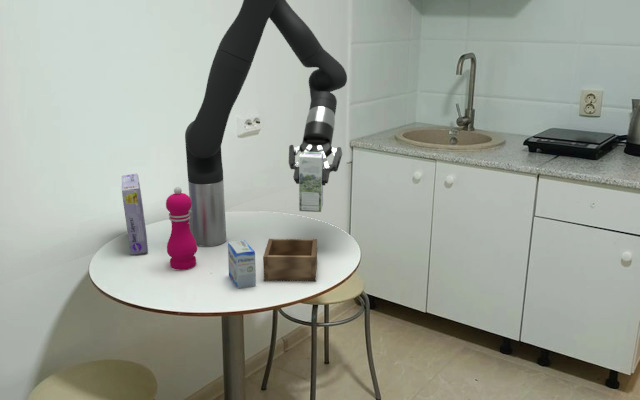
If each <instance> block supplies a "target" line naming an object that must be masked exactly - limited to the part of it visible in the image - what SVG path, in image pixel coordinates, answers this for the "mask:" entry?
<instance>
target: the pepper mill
mask: <svg viewBox="0 0 640 400" xmlns="http://www.w3.org/2000/svg"><path fill="white" fill-rule="evenodd" d="M182 191H183V190H182V188H181V187H179V186H177V187H175V188H174V189H173V192H174V193H172V194H170V195H169V196H168V197H167V198H166V201H165V207H166V210H167V211H168V212H169V213H168V216H169V218H168V220H170V223H171V231H170V236H169V239H168V240H167V244H166V253H167V254H168V256H169V257H170V259H169V265H170V268H171V269H173V270H176V271H183V270H184V271H186V270H190V269H193V268H195V266H197V257H196V256H195V255H196V253H197V252H198V245H197V244H196V241H195V239H194V237H193V235H192V233H191V231H190V227H189V219H190V212H189V210H190V208H191V206H192V202H191V199H190V197H189V195H188V194H186V193H183V192H182Z"/></svg>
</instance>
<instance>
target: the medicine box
mask: <svg viewBox="0 0 640 400" xmlns="http://www.w3.org/2000/svg"><path fill="white" fill-rule="evenodd" d="M227 257H228V258H227V259H228V260H227V261H228V262H227V263H228V276H229V278H230V279H231V281H232V282H233V284H234V285H235V286H236V288H237V289H245V288H251V287H255V286H257V274H256V273H257V272H256V271H257V270H256V252H255V250H254V249H253V248H252V246H251V245H250V244H249V243H248V242H247V241H246V240H243V239H242V240H234V241H233V240H232V241H229V242H227Z"/></svg>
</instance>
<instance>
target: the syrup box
mask: <svg viewBox="0 0 640 400" xmlns="http://www.w3.org/2000/svg"><path fill="white" fill-rule="evenodd" d="M298 160H299V184H298V187H299V188H298V195H299V196H298V198H299V199H298V200H299V203H298V205H299V206H298V208H299V212H307V213H308V212H312V213H321V212H322V209H323V207H324V185H322V174H323V169H324V167H323V152H301V151H300V154H299V158H298Z"/></svg>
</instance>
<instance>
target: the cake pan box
mask: <svg viewBox="0 0 640 400" xmlns="http://www.w3.org/2000/svg"><path fill="white" fill-rule="evenodd" d="M121 194H122V195H121V196H122V203H123V209H124V216H125V217H124V218H125V222H126V223H125V225H126V230H127V236H128V245H129V250H130V255H143V254H144V255H145V254H148V253H149V247H148V246H149V245H148V236H147V228H146V220H145V214H144V207H143V205H144V204H143V197H142V191H141V184H140V180H139V175H138V173H131V174H126V175H121Z"/></svg>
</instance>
